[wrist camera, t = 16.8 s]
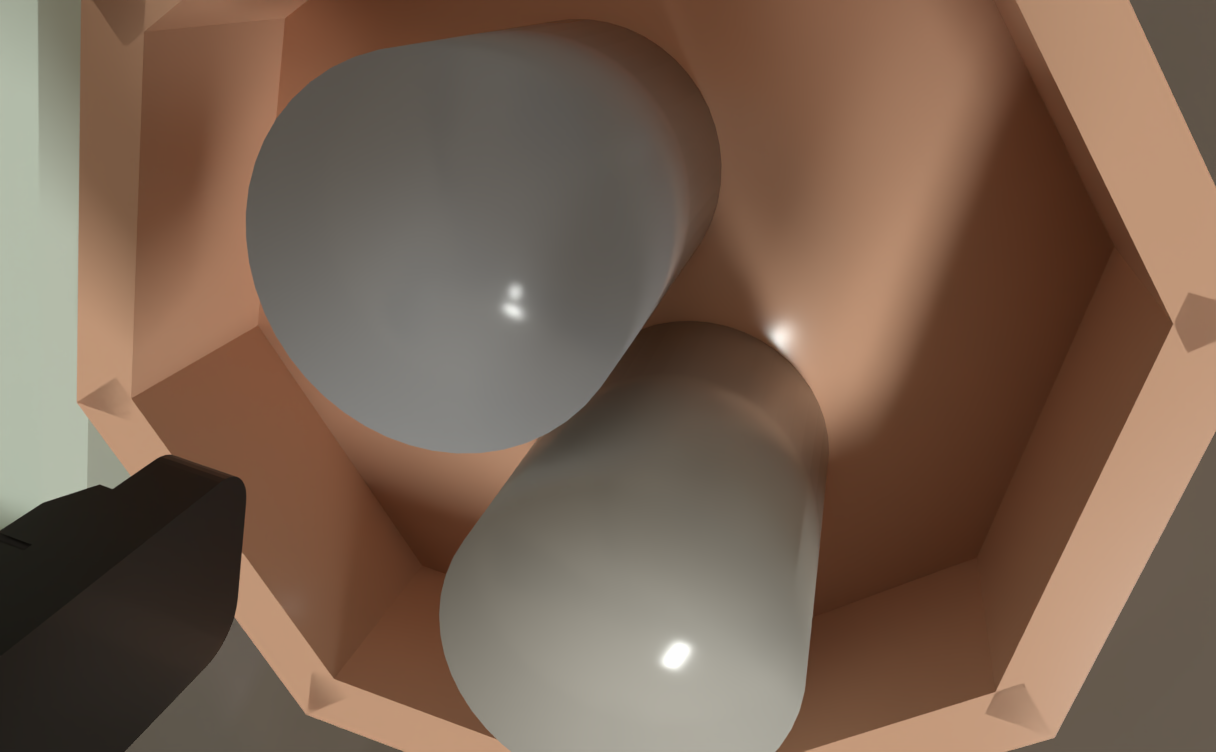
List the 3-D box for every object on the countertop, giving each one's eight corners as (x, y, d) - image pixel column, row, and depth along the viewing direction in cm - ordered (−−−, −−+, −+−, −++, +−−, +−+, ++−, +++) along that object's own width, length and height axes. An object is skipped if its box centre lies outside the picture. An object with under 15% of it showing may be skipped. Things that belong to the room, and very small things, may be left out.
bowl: (298, -323, 14) (86, -423, 10) (1318, -93, 12) (1502, -115, 8) (229, 500, 19) (74, 627, 15) (931, 745, 17) (940, 954, 14)
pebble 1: (467, -10, 14) (257, 3, 9) (753, 55, 13) (678, 102, 9) (432, 265, 15) (236, 392, 11) (685, 334, 15) (592, 500, 10)
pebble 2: (594, 289, 15) (467, 435, 10) (863, 363, 14) (855, 550, 10) (547, 519, 16) (417, 734, 12) (788, 593, 16) (750, 849, 11)
